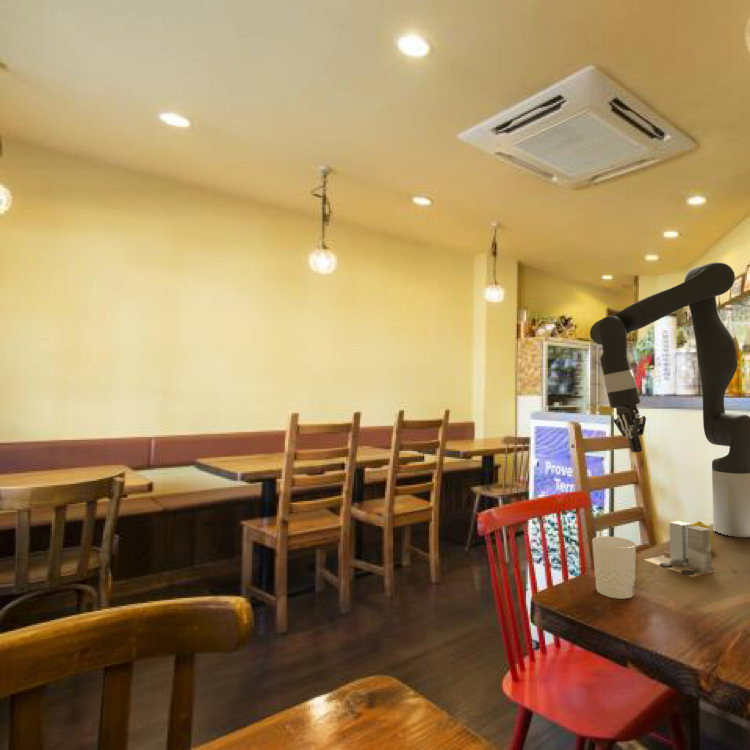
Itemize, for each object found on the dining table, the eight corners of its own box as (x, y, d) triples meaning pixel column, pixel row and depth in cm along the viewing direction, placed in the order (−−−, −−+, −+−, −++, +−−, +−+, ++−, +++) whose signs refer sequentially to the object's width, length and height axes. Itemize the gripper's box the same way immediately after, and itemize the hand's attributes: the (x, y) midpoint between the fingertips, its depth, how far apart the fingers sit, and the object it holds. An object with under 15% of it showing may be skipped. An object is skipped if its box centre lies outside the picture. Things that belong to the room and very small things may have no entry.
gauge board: (665, 560, 121) (664, 516, 121) (715, 576, 110) (714, 528, 111) (642, 565, 118) (641, 520, 118) (691, 582, 107) (690, 533, 108)
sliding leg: (679, 560, 117) (678, 520, 117) (692, 564, 114) (691, 524, 114) (664, 563, 115) (664, 523, 115) (677, 567, 112) (676, 526, 112)
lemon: (712, 559, 121) (712, 525, 122) (685, 555, 125) (684, 522, 125) (714, 553, 126) (714, 520, 126) (688, 549, 129) (687, 517, 129)
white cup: (599, 582, 108) (599, 534, 108) (641, 591, 103) (640, 540, 103) (587, 593, 102) (587, 542, 102) (631, 604, 97) (630, 550, 97)
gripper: (648, 383, 134) (664, 449, 132) (622, 388, 147) (637, 448, 145) (620, 389, 134) (636, 455, 132) (597, 393, 147) (611, 453, 145)
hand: (637, 451), depth 138 cm, fingers closed
